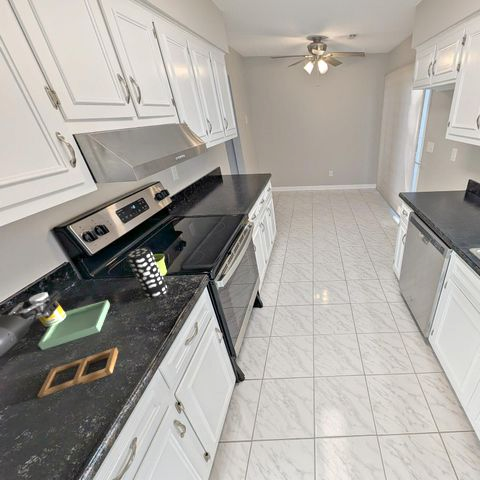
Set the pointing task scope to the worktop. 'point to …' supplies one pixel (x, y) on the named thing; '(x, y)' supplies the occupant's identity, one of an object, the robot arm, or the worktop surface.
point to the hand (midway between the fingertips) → (47, 295)
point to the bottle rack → (81, 371)
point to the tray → (76, 325)
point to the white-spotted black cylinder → (147, 272)
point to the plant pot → (160, 263)
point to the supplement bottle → (55, 317)
